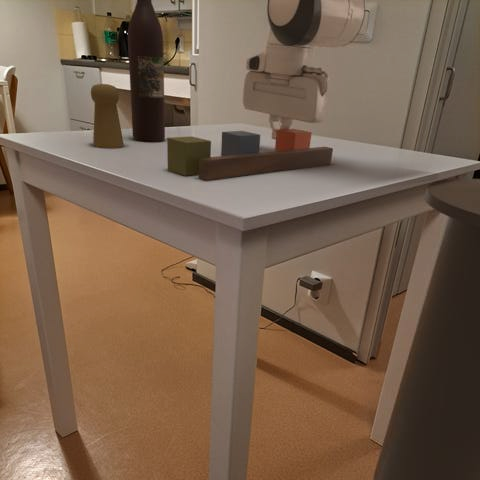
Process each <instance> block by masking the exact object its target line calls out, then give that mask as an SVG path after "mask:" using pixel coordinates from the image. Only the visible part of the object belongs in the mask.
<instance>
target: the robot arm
mask: <svg viewBox="0 0 480 480" xmlns="http://www.w3.org/2000/svg"><path fill="white" fill-rule="evenodd" d="M365 2H366V1H365V0H267V5H266V11H267V12H266V13H267V22H268V24H269V34H268V37H267V40H266V48H265V50H263V51H261V52H259V53H257V54H255V55H252V56H249V57H248V58H246V61H245V69H246V70H247V71H248V72H247V73H246V75H245V77H244V82H243V83H244V84H243V91H242V92H243V93H242V104H243V107H244V109H245V110H248V111H252V112H257V113H260V114H261V113H262V114H266V115H268V116H269V117H268V121H269V125H270V128H271V139H272V140H275V141H276V133H277V129H291V126H292V125H293V120H294V121H299V122H305V123H309V124H320V123H323V121H324V120H325V119H326V116H327V108H328V88H329V81H330V79H329V78H330V77H329V75H328V73H327V72H326V71H325V68H322V67H313V66H311V63H312V57H313V51H314V50H313V48H314V47H319V48H323V47H324V48H333V49H334V48H335V49H336V48H341V47H345V46H348V45H349V44H350V43H352V42H353V41H354V40H355V39H356V38H357V36H358V34H359V33H360V31H361V29H362V28H363V25H364V22H365V21H364V20H365V15H366V3H365ZM280 123H281V125H280Z"/></svg>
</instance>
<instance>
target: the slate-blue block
mask: <svg viewBox="0 0 480 480" xmlns="http://www.w3.org/2000/svg"><path fill="white" fill-rule="evenodd" d="M260 144H261V133H260V134H259V133H256V132H255V133H254V132H251V131H250V132H249V131H245V130H234V131H232V130H231V131H222V132H221V146H220V147H221V148H220V149H221V150H220V156H228V155H239V154H250V153H260V146H261V145H260Z"/></svg>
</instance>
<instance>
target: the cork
mask: <svg viewBox="0 0 480 480" xmlns="http://www.w3.org/2000/svg"><path fill="white" fill-rule="evenodd" d="M90 97H91V100H92V101H93V103H94V110H93V111H94V112H93V113H94V114H93V138H92V144H93V145H92V146H94V147H95V148H96V147H97V148H102V149H120V148H124V147H125V143H124V137H123V132H122V127H121V122H120V118H119V117H120V116H119V111H118V105H117V104H118V102H119V101H120V100H119V99H120V94H119V90H118V89H117V87H116V86H114V85H113V84H109V83H108V84H107V83H97V84H93V85H92V87H91V88H90Z"/></svg>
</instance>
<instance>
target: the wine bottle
mask: <svg viewBox="0 0 480 480" xmlns="http://www.w3.org/2000/svg"><path fill="white" fill-rule="evenodd" d="M152 2H153V1H152V0H136V3H135V6H134V10H133V12H132V14H131V17H130V19H129V23H128V27H127V28H128V29H127V48H128V49H127V51H128V70H129V86H130V87H129V89H130V107H131V108H130V109H131V110H130V111H131V126H132V128H131V129H132V130H131V131H132V138H133V140H136V141H139V142H148V143H156V142H157V143H158V142H163V141H165V137H166V121H165V120H166V119H165V118H166V117H165V115H166V114H165V112H166V111H165V69H164V68H165V66H164V65H165V63H164V34H163V28H162V25H161V22H160V20H159V18H158V15H157V13H156V10H155V8H154V5H153V3H152Z"/></svg>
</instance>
